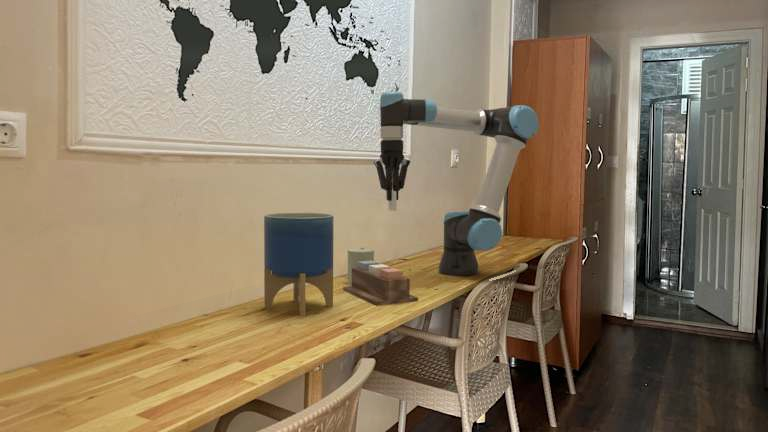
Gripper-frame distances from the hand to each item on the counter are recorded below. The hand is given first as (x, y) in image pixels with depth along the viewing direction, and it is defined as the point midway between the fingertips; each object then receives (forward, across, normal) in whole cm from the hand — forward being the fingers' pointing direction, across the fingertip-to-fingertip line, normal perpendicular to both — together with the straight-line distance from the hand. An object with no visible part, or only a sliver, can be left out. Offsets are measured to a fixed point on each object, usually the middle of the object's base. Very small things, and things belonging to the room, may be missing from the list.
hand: (392, 210), depth 206 cm
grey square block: (+22, +12, +5) cm, 26 cm away
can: (+25, +9, -7) cm, 28 cm away
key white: (+22, +12, +13) cm, 29 cm away
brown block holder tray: (+25, +12, +13) cm, 31 cm away
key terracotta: (+22, +12, +21) cm, 33 cm away
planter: (+25, +40, +18) cm, 50 cm away
